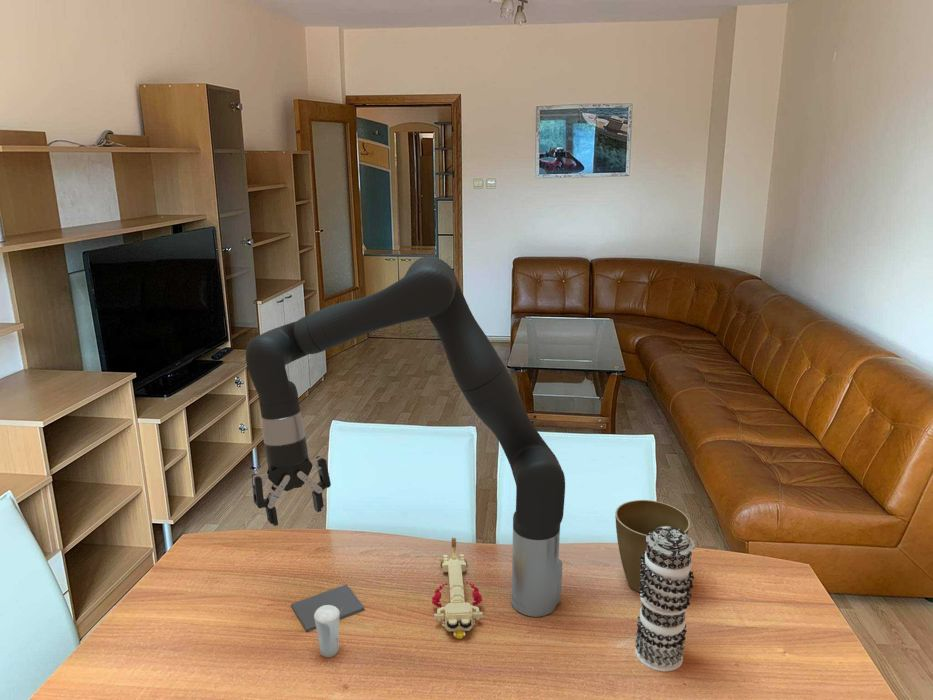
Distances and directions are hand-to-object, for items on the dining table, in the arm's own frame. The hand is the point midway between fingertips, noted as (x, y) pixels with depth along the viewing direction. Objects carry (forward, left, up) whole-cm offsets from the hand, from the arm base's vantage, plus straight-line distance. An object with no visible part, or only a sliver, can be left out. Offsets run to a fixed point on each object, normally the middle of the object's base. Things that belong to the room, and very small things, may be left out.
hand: (296, 517), depth 130 cm
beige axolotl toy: (-27, +14, -21) cm, 37 cm away
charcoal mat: (-4, +2, -21) cm, 21 cm away
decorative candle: (-50, +47, -21) cm, 72 cm away
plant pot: (-64, +31, -21) cm, 74 cm away
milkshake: (0, +14, -21) cm, 25 cm away
